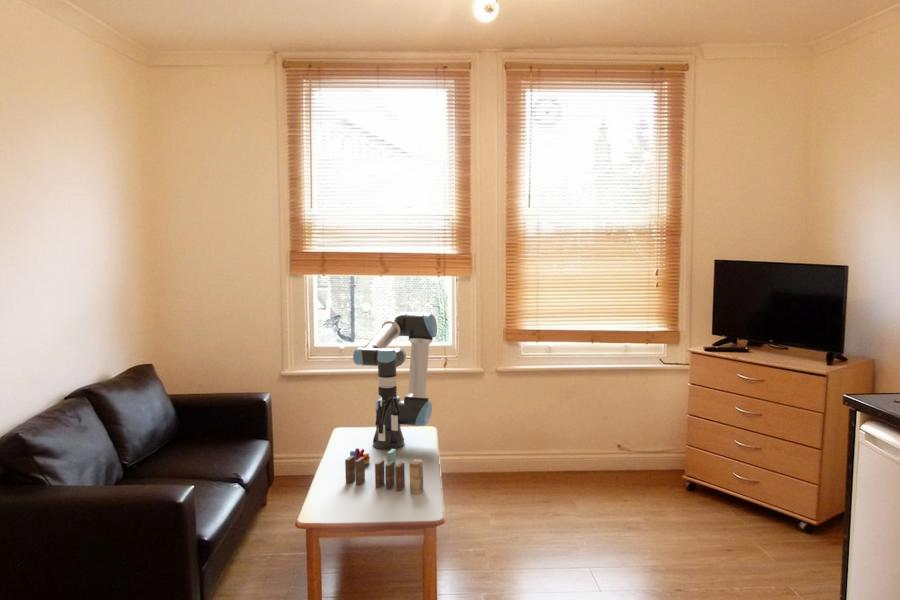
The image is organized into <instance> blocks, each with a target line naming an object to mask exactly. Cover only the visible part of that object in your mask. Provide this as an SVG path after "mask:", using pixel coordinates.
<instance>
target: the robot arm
mask: <svg viewBox="0 0 900 600" xmlns="http://www.w3.org/2000/svg"><path fill="white" fill-rule="evenodd" d="M437 334H438V324H437V319H436V317H435V315H434V314H433V313H428V312H399V313H397V314H394V315H392V316H391V317H389V318H387V320H385V321H384V322H383V323H382V325H381V329H380V330H378V332H377V333H376V334H375V335H374V336H373V337H372V338H371V339H370V340H369V342H368V343H367V344H366V345H365V346H364V347H357V348H355V349H354V351H353V353H352V354H353V355H352V359H353V363H354V364H355V365H357V366H367V367H368V366H371V367H372V366H374V367H376V366H377V374H378V375H377V376H378V377H377V381H378V382H377V383H378V389H377V390H378V396H380V398H378V399H377V400H376V402H375V427H376V428H375V431H374V436H373V439H372V445H373V446H372V447H374V448H376V449H379V450H391V449H396V450H397V449H399V448H401V447H403V446H404V445H405V438H404V434H403V432H402V428H401V425H402V426H403V425H404V426H415V427H425V426H427V424H428V423H429V421H430V420H431V416H432V412H433V407H432V406H433V404H432V402H431V401H429V397H428V395H427V394H426V393H427V379H428V364H429V350H430V344H432V342H433V338H436V336H438V335H437ZM399 337H408V340H409V342H410V343H411V345H410V346H411V347H410V356H409V357H410V359H409V361H410V362H409V373H408V374H409V375H408V384H407V385H408V388H407V394H405V395H404V397H403V399H401V397H400V396H399V395H397V390H398V389H397V382H398V381H397V368H398V367H400V366H402V365H403V363H404V362H405V361H406V359H407V354H406V352H405V350H404V349H403V348H401V347H394V348H392V347H389V345H390V344H392V343H391V342H393V341H394V340H395V339H397V338H399Z"/></svg>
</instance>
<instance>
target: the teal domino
mask: <svg viewBox="0 0 900 600" xmlns="http://www.w3.org/2000/svg"><path fill="white" fill-rule="evenodd" d="M396 452H397V448H396V449H389V450H388V452H386V464H387V463H389V462H390V461H394V474H396V466H397V453H396Z"/></svg>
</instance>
